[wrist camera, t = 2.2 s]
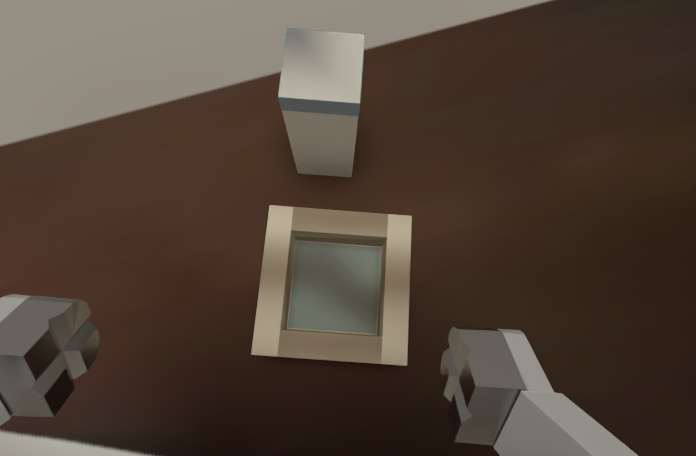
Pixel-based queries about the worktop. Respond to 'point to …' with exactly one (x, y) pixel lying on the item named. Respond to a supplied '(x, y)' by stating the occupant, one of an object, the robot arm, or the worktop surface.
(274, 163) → the worktop surface
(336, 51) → the peg
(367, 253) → the holder
